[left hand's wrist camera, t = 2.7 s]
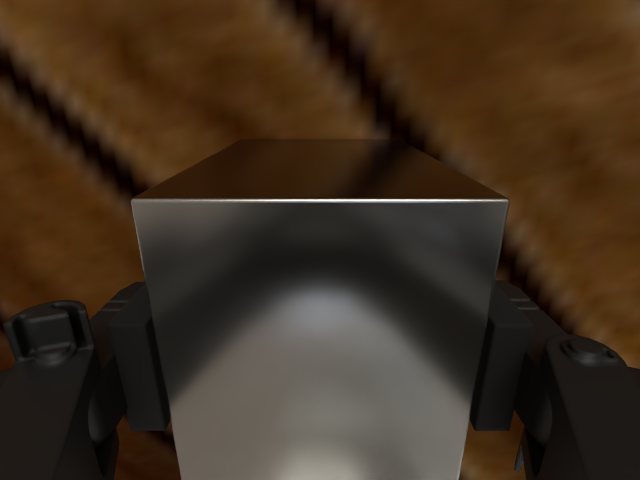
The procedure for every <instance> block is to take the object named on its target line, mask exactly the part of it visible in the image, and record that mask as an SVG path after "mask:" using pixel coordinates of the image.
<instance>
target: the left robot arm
mask: <svg viewBox="0 0 640 480" xmlns="http://www.w3.org/2000/svg"><path fill="white" fill-rule="evenodd" d="M3 325H4V328H5V331H6V334H7V337H8V340H9V343H10V346H11V348H12V351H13V354H14V357H15V360H16V362H15V364H14V366H13V367H12V369H8V370H2V371H0V480H114V475H115V468H116V462H117V455H118V449H119V438H118V433H117V429H116V426H117V425H118V423H119V421H120V420H121V418H122V417H123V415H124V413H125V412H127V416H128V421H129V425H130V429H131V431H165V430H166V428H167V426H168V423H169V421H170V414H169V409H168V403H167V398H166V393H165V387H164V382H163V376H162V371H161V365H160V360H159V354H158V349H157V343H156V338H155V333H154V327H153V322H152V316H151V311H150V305H149V300H148V294H147V289H146V284H145V282H135V283H133V284H131V285H130V286H128V287H126V288H124V289H122V290H120V291H119V292H118V293H117V294H116V295H115V296H114V297H113V298H112V299H111V300H110V302H109V303H107V304H106V305H105V306H104V307H103V308H102V309H101V311H98V312H97V313H96V314H95V315H94V316H93V317H92V318H91V319H90V320H89V318H88V314H87V310H86V307H85V305H84V304H82V303H81V302H79V301H73V300H61V301H52V302H48V303H43V304H39V305H36V306H34V307H31V308H28V309H25V310H23V311H21V312H19V313H18V314H16V315H14V316H12V317H11V318H10V319H9V320H7V321H6V322H5V323H4V324H3ZM514 410H515V411H516V413H517V414H518V416H519V418H520V419H521V421H522V422H523V424H524V429H523V433H522V437H521V441H520V445H519V449H518V453H517V457H516V461H515V468H514V470H516V471H519V472H520V469H521V466H522V463H523V462H524V467H525V474H526V480H640V369H637V368H632V367H627V365H626V363H625V362H624V360H623V359H622V358H621V357H620V356H619V355H618V354H617V353H616V352H615V351H613V350H612V349H610V348H609V347H607V346H606V345H604V344H602V343H599V342H597V341H595V340H592V339H590V338H586V337H582V336H578V335H572V334H566V333H565V332H564V331H563V330H562V329H561V328H560V327H559V326H558V325H557V324H556V323H555V322H554V321H553V320H552V319H551V318H550V317H549V316H548V315H547V314H546V313H544V312H543V311H542V310H540V308H539V307H538V306H537V305H536V304H535V303H534V302H533V301H531V299H530V298H529V297H528V296H527V295H526V294H525V293H524V292H523V291H522V290H520V289H519V288H517V287H515V286H513V285H511V284H509V283H508V282H506V281H495V284H494V290H493V295H492V301H491V306H490V311H489V317H488V322H487V328H486V333H485V339H484V344H483V350H482V355H481V361H480V366H479V371H478V377H477V382H476V388H475V393H474V399H473V404H472V410H471V415H470V421H471V423H472V426H473V428H474V430H475V431H509V429H510V425H511V421H512V416H513V412H514Z"/></svg>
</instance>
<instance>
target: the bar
mask: <svg viewBox="0 0 640 480" xmlns="http://www.w3.org/2000/svg"><path fill="white" fill-rule="evenodd" d="M131 207H132V213H133V218H134V224H135V229H136V234H137V240H138V245H139V251H140V256H141V262H142V267H143V273H144V278H145V284H146V289H147V294H148V300H149V305H150V311H151V316H152V322H153V327H154V333H155V338H156V343H157V349H158V354H159V360H160V365H161V371H162V376H163V382H164V387H165V393H166V398H167V403H168V409H169V414H170V420H171V425H172V431H173V436H174V442H175V447H176V453H177V458H178V463H179V469H180V474H181V480H459V475H460V469H461V464H462V459H463V453H464V448H465V442H466V437H467V431H468V426H469V420H470V415H471V410H472V404H473V399H474V393H475V388H476V382H477V377H478V371H479V366H480V361H481V355H482V350H483V344H484V339H485V333H486V328H487V322H488V317H489V311H490V306H491V301H492V295H493V290H494V284H495V279H496V273H497V268H498V262H499V257H500V252H501V246H502V241H503V235H504V230H505V224H506V219H507V213H508V208H509V199H508V198H506V197H504V196H503V195H501V194H499V193H497V192H495V191H493V190H491V189H490V188H488V187H486V186H484V185H482V184H480V183H478V182H477V181H475V180H473V179H471V178H469V177H467V176H465V175H464V174H462V173H460V172H458V171H456V170H454V169H452V168H451V167H449V166H447V165H445V164H443V163H441V162H440V161H438V160H436V159H434V158H432V157H430V156H428V155H427V154H425V153H423V152H421V151H419V150H417V149H415V148H414V147H412V146H410V145H408V144H406V143H404V142H402V141H401V140H240V141H238V142H236V143H234V144H232V145H230V146H228V147H227V148H225V149H223V150H221V151H219V152H217V153H215V154H214V155H212V156H210V157H208V158H206V159H204V160H202V161H201V162H199V163H197V164H195V165H193V166H191V167H189V168H188V169H186V170H184V171H182V172H180V173H178V174H176V175H175V176H173V177H171V178H169V179H167V180H165V181H164V182H162V183H160V184H158V185H156V186H154V187H152V188H151V189H149V190H147V191H145V192H143V193H141V194H139V195H138V196H136V197H134V198H132V199H131Z"/></svg>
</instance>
